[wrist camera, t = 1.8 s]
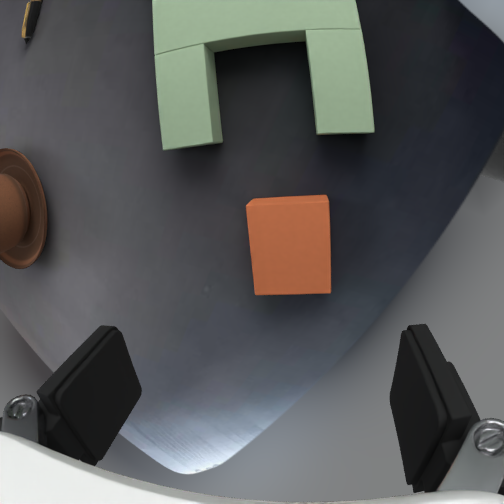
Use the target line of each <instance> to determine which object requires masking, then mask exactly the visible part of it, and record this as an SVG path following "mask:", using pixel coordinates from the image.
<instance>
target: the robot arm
mask: <svg viewBox="0 0 504 504" xmlns="http://www.w3.org/2000/svg"><path fill="white" fill-rule="evenodd" d="M141 392H142V390H141V386H140V383H139V380H138V378H137V375H136V372H135V370H134V367H133V364H132V361H131V358H130V356H129V353H128V350H127V347H126V344H125V341H124V338H123V335H122V333H121V332H120V331H119V330H118V329H117V327H115V326H100V327H99V328H98V329H97V330H96V331H95V332H94V333H93V334H92V335H91V336H90V337H89V338H88V339H87V340H86V341H85V342H84V343H83V344H82V345H81V346H80V347H79V348H78V349H77V350H76V351H75V352H74V353H73V354H72V355H71V356H70V357H69V358H68V359H67V360H66V361H65V362H64V363H63V364H62V365H61V366H60V367H59V368H58V369H57V370H56V371H55V372H54V374H53V375H52V376H51V377H50V378H49V379H48V380H47V381H46V382H45V383H44V384H43V385H42V386H41V387H40V389H39V390H38V391H37V394H38V396H39V397H40V400H39V402H38V401H37V400H36V399H35V397H33V396H31V395H20V396H17V397H15V398H13V399H12V400H11V401H9V402H8V403H7V405H6V406H5V408H4V411H3V417H1V418H0V504H504V421H501V420H499V419H494V418H489V419H483V420H480V418H479V416H478V414H477V411H476V409H475V407H474V405H473V403H472V401H471V399H470V397H469V395H468V393H467V391H466V389H465V387H464V385H463V383H462V381H461V379H460V377H459V375H458V373H457V371H456V369H455V367H454V365H453V364H452V363H451V362H447V361H446V359H445V358H444V356H443V354H442V352H441V350H440V348H439V346H438V344H437V343H436V341H435V339H434V337H433V335H432V333H431V332H430V330H429V328H428V326H427V325H426V324H419V325H409V326H408V328H407V330H404V331H402V333H401V339H400V345H399V351H398V356H397V362H396V367H395V372H394V377H393V382H392V387H391V391H390V405H391V409H392V414H393V418H394V422H395V427H396V431H397V436H398V440H399V446H400V451H401V455H402V460H403V466H404V471H405V477H406V482H407V484H408V485H411V484H412V486H413V492H414V493H416V492H421V491H425V493H419V494H411V495H403V496H394V497H387V498H378V499H367V500H355V501H336V502H276V501H259V500H248V499H237V498H228V497H221V496H213V495H207V494H201V493H195V492H190V491H184V490H179V489H174V488H170V487H165V486H161V485H156V484H152V483H148V482H144V481H141V480H137V479H133V478H130V477H126V476H123V475H120V474H116V473H113V472H110V471H107V470H104V469H101V468H98V467H95V465H96V464H97V462H98V461H99V460H102V459H103V457H104V455H105V454H106V452H107V450H108V449H109V447H110V446H111V444H112V442H113V441H114V439H115V437H116V436H117V434H118V432H119V431H120V429H121V427H122V426H123V424H124V423H125V421H126V419H127V418H128V416H129V414H130V413H131V411H132V409H133V408H134V406H135V405H136V403H137V401H138V400H139V398H140V396H141ZM79 459H80V460H81V461H82V462H81V461H79Z"/></svg>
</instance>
